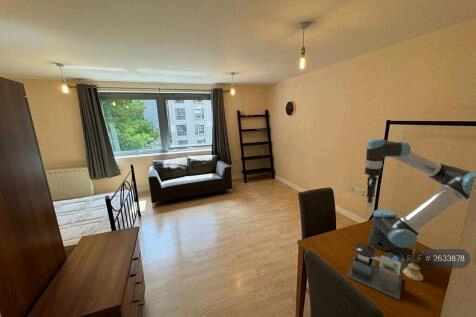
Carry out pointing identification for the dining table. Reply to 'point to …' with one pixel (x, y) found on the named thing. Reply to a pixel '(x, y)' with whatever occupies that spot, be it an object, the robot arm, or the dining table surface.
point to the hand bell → (414, 267)
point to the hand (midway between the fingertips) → (369, 207)
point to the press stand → (378, 276)
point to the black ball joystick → (368, 254)
